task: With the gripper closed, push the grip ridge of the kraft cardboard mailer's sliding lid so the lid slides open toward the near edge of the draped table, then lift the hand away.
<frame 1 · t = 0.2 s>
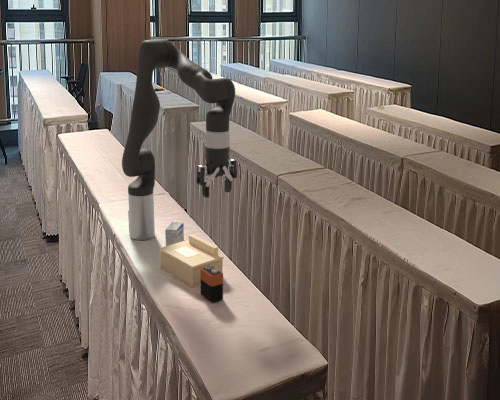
hand: (216, 194, 198), 28 cm above the table, tool pointing down, fingers open, 8 cm apart
lid: (190, 249, 206), point 8 cm above the table, slide at 0.0 cm
battery: (211, 298, 193), on the table
medicine box: (175, 248, 228), on the table
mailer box: (191, 272, 209), on the table
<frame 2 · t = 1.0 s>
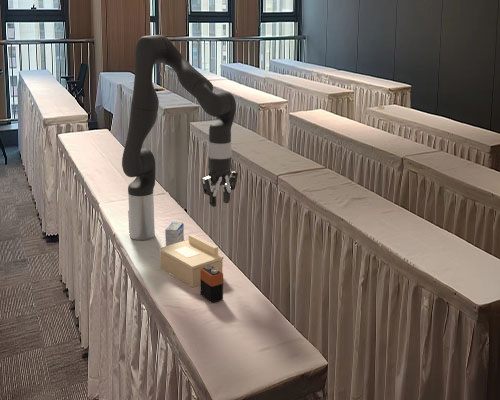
hand: (219, 204, 209), 21 cm above the table, tool pointing down, fingers open, 5 cm apart
nothing on the table moved.
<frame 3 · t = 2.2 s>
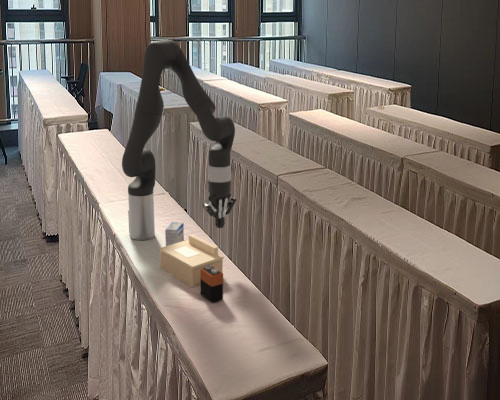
hand: (219, 227, 212), 13 cm above the table, tool pointing down, fingers closed
nothing on the table moved.
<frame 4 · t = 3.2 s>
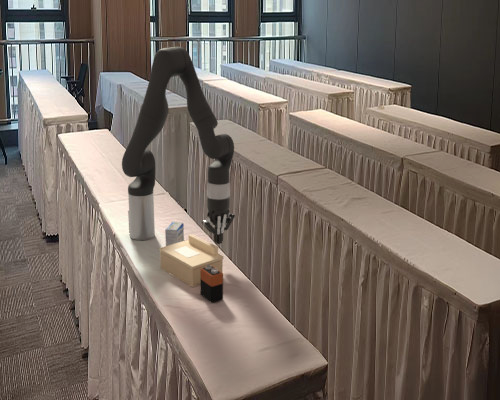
hand: (218, 243, 213), 7 cm above the table, tool pointing down, fingers closed
nothing on the table moved.
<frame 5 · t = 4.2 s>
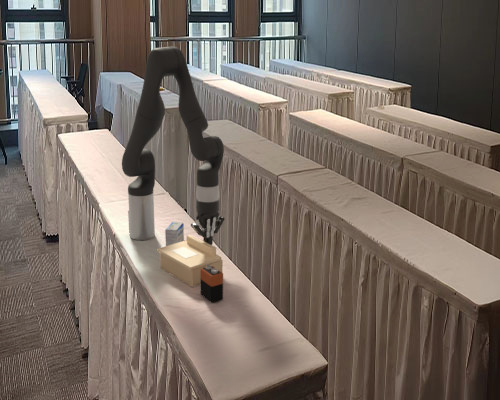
hand: (208, 246, 211), 7 cm above the table, tool pointing down, fingers closed
lid: (188, 250, 205), point 8 cm above the table, slide at 0.8 cm, touching gripper
everything else where it was.
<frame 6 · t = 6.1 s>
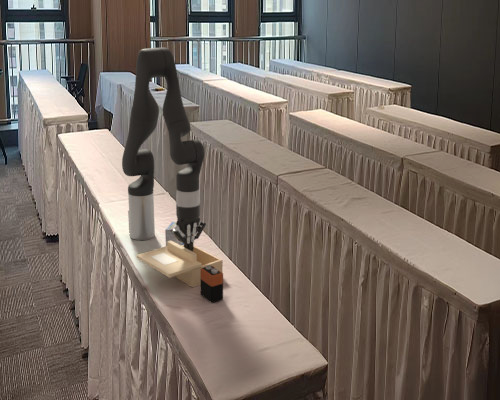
hand: (188, 252, 206), 7 cm above the table, tool pointing down, fingers closed
lid: (168, 256, 200), point 8 cm above the table, slide at 8.8 cm, touching gripper
everything else where it was.
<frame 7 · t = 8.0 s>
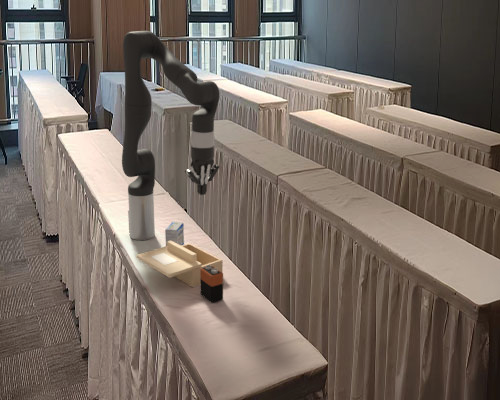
hand: (201, 194, 210), 24 cm above the table, tool pointing down, fingers closed
lid: (168, 256, 200), point 8 cm above the table, slide at 8.8 cm
everything else where it was.
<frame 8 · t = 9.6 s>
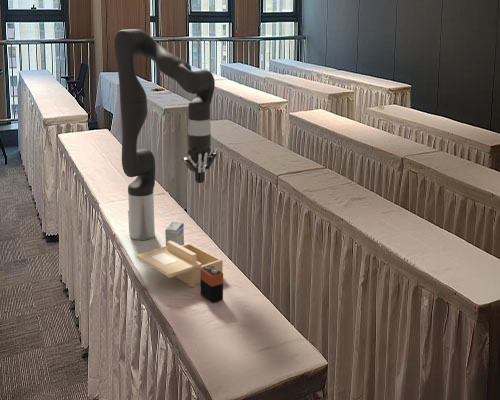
hand: (199, 182, 213), 27 cm above the table, tool pointing down, fingers closed
nothing on the table moved.
at the end: lid slide at 8.8 cm; the gripper is holding nothing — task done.
